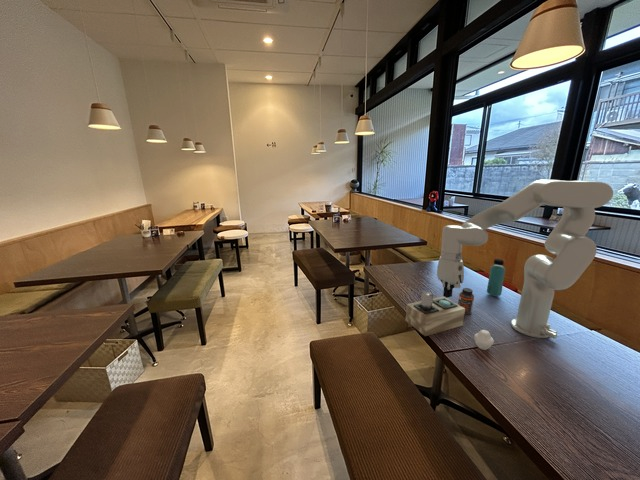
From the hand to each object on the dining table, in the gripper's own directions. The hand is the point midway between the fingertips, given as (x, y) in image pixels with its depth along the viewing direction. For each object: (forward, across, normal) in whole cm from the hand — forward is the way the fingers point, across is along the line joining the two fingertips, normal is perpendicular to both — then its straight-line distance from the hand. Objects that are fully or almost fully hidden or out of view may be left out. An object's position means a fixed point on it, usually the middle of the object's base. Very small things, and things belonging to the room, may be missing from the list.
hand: (447, 296), depth 110 cm
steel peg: (+5, +1, +11) cm, 12 cm away
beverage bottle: (+13, +9, -41) cm, 44 cm away
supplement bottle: (+12, +3, -14) cm, 19 cm away
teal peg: (+11, +1, +1) cm, 11 cm away
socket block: (+12, +1, +6) cm, 13 cm away
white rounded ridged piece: (+12, -18, +1) cm, 22 cm away
